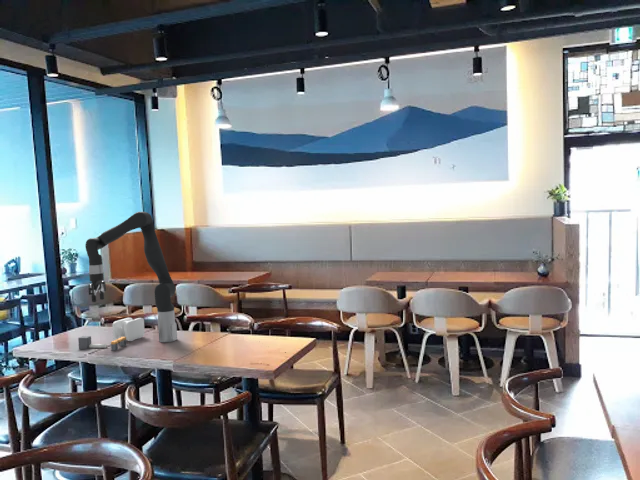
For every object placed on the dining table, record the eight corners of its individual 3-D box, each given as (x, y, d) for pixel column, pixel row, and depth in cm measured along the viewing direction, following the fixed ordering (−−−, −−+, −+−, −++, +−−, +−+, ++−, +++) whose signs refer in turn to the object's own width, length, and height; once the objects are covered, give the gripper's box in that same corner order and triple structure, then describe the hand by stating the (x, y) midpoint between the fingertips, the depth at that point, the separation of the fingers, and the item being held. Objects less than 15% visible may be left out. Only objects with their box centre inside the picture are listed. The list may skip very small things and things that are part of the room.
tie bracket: (126, 345, 290) (126, 336, 290) (115, 350, 279) (115, 342, 279) (122, 345, 290) (122, 336, 290) (111, 350, 279) (110, 342, 279)
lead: (108, 346, 288) (107, 336, 287) (104, 348, 284) (103, 337, 283) (83, 346, 290) (82, 336, 290) (78, 348, 286) (78, 337, 286)
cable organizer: (127, 343, 295) (125, 322, 294) (112, 341, 299) (111, 321, 298) (145, 336, 309) (144, 317, 308) (131, 335, 313) (129, 316, 312)
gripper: (95, 274, 292) (97, 302, 293) (108, 271, 306) (110, 298, 307) (83, 274, 293) (85, 303, 294) (96, 271, 307) (98, 298, 308)
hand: (98, 300), depth 301 cm, fingers open, 8 cm apart
